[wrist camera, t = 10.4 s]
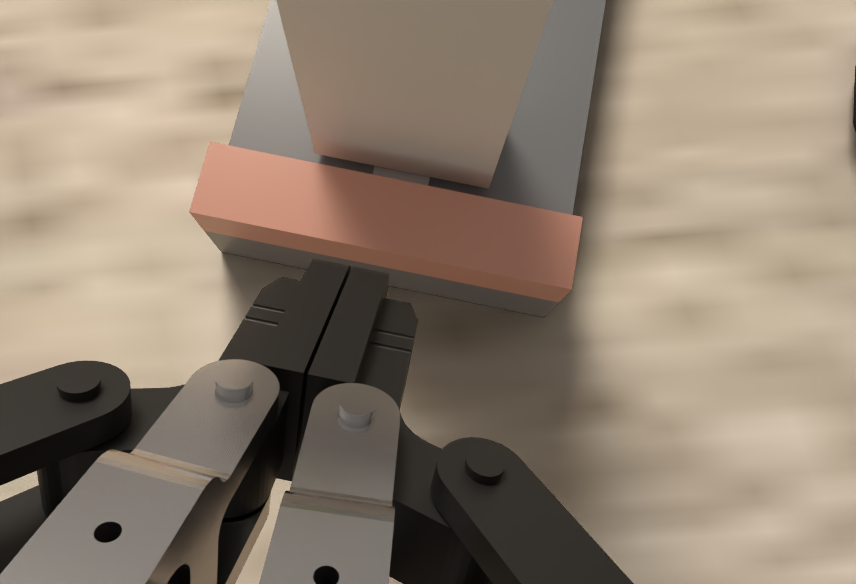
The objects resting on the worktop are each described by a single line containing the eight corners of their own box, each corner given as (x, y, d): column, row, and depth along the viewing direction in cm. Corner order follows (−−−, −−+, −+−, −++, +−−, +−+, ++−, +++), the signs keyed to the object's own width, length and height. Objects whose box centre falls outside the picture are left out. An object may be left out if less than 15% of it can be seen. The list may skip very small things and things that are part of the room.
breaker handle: (332, 76, 21) (282, -246, 11) (504, 111, 21) (596, -183, 11) (312, 154, 20) (241, -118, 11) (490, 190, 20) (574, -51, 11)
